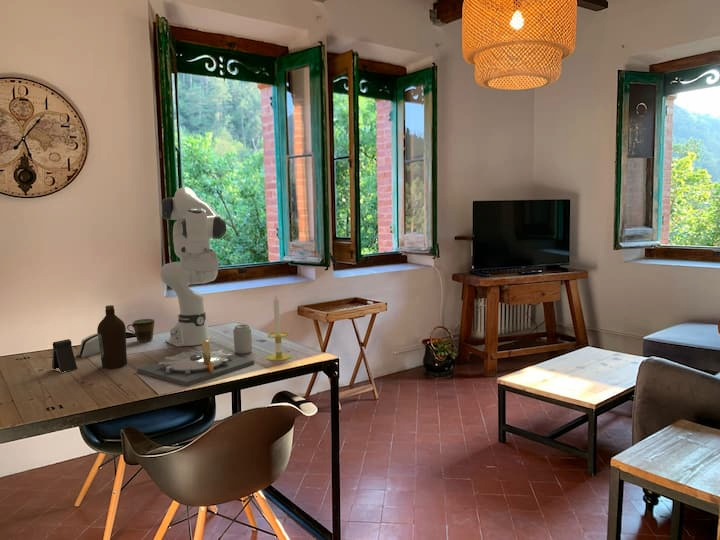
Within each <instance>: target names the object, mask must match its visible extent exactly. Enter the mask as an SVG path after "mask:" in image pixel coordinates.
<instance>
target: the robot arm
mask: <svg viewBox="0 0 720 540" xmlns="http://www.w3.org/2000/svg"><path fill="white" fill-rule="evenodd" d="M158 209H159V210H158V211H159V214H160V215H161V217H162V219H163V220H168V221H171V220H173V221H175V222H174V223H173V227H172V242H173V250H174V253H175V255H176V257H178V258H179V259H180V260H181V261H172V262H168V263H165V264H163V265H162V266H161V269H160V273H159V274H160V279H161V281H162V282H163V283H164V285H166V286H168V287H170V288H171V289H172V290H173V292H174V293H175V294H176V297H177V300H178V305H179V314H177V318H178V319H177V322H176V323H175V325H173V326H172V328H170V331H169V332H170V333H169V334H170V335H169V338H167V339H165V341H164V342H165V343H168V344H170V345H173V346H175V347H189V346H190V347H191V346H200V345H202V341H203V340H209V341H210V342H211V340H212V336H211V335H210V332H209V326H208V322H207V321H206V320H207V313H206V311H205V302H204V301H205V300H204V299H205V298H204V296H203V295H202V294H201V293H200V292H198V291H195V290H192V289H191V288H190V285H196V284H197V285H198V284H207V283H210V282H213V281H215V280H216V279H217V276H218V273H219V272H218V271H219V268H220V267H219V260H218V256H217V253H216V251H215V250H214V249H213V248H211V246H210V245H211V244H210V239H211V240H212V239H213V240H214V239H215V240H221V239H222V238H223V237H224V236H225V235H226V234H227V223H226V221H225V218H223V216H221V215H219V214H218V212H217V211H215V209H214V208H213V207H212V206H211V205H210V204H209V203H207V202H206V200H205V199H203V198H201V197H198V195H197V194H196V192H195V191H194V190H193V189H191V188H189V187H187V186H186V187H184V186H183V187H180V188H178V189H177V190H176V191H175V193H174V196H173V197H170V196H168V197H166V198H163V199H162V200H161V201H160V203H159V207H158Z"/></svg>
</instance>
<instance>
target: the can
mask: <svg viewBox="0 0 720 540" xmlns="http://www.w3.org/2000/svg"><path fill="white" fill-rule="evenodd" d="M252 343H253V341H252V328H251V327H250V325H249V324H243V323H241V324H236V325H234V329H233V344H234V345H233V348H234V352H235V353H236V354H237V355H246V354H250V353H251V351H253V346H252V345H253V344H252Z"/></svg>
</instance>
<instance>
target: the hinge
mask: <svg viewBox="0 0 720 540" xmlns="http://www.w3.org/2000/svg"><path fill="white" fill-rule="evenodd" d="M98 353H99V354H100V347H99V340H98V334H97V332H96V333H93V334H90V335H88V336H86V337H85V338H83V339H82V340H81V342H80V345H79V349H78V352H76V354H75V357H78V356H79V357H80V356H81V358H86V357H89V356H92V355H95V354H98Z"/></svg>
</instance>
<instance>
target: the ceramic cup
mask: <svg viewBox="0 0 720 540" xmlns="http://www.w3.org/2000/svg"><path fill="white" fill-rule="evenodd" d="M130 326H132V328H133V330H134V331H133V330H130V329H129V327H130ZM154 328H155V319H153V318H141V319H136V320H133V321H132V323H131V324H128V325H127V326H126V329H127V331H130V332H131V333H133V334H134V335H135V337H136V342H137V343H149V342H152V341H153V339H154V330H155V329H154Z"/></svg>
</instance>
